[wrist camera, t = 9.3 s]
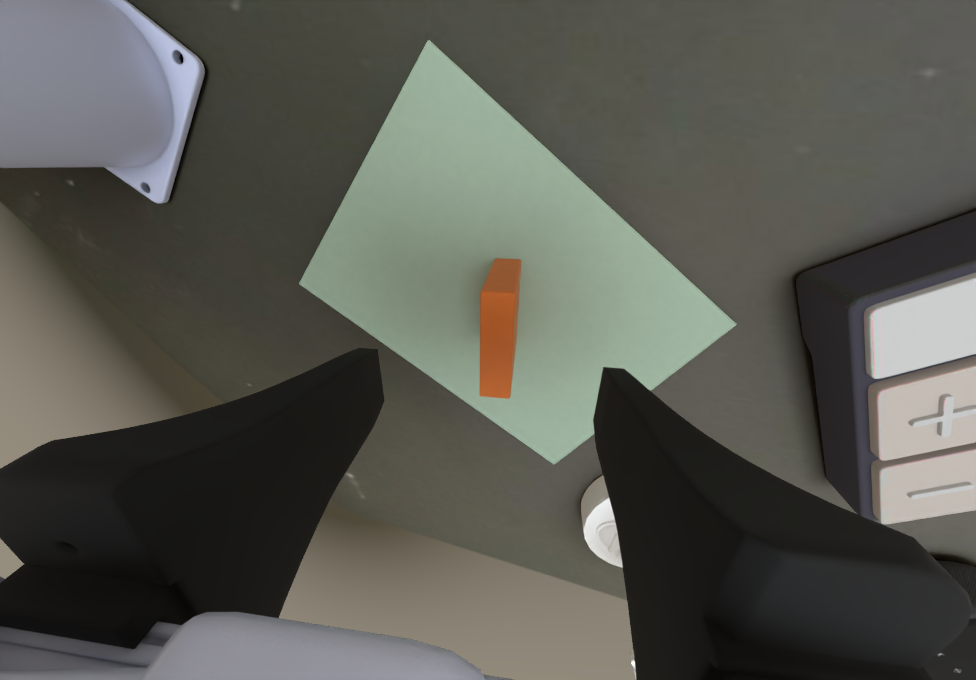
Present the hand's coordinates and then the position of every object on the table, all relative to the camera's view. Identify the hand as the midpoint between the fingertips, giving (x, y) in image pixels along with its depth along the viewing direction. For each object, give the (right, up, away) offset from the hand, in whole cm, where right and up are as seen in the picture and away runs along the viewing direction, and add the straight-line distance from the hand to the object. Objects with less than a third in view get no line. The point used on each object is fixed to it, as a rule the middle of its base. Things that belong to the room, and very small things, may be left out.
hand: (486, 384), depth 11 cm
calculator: (+23, 0, +7) cm, 24 cm away
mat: (+1, +4, +9) cm, 10 cm away
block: (+1, +3, +8) cm, 9 cm away
